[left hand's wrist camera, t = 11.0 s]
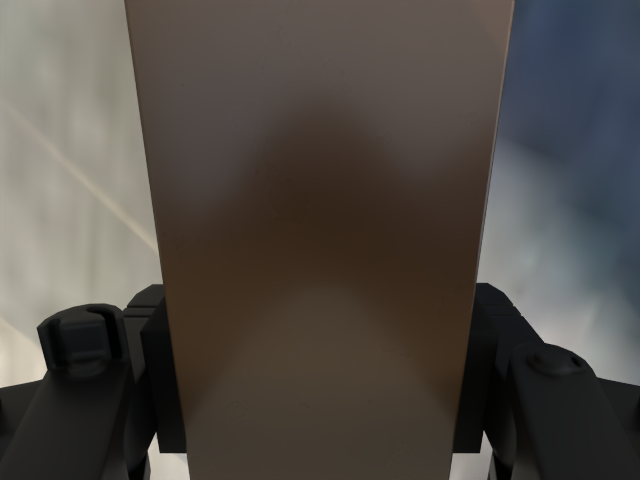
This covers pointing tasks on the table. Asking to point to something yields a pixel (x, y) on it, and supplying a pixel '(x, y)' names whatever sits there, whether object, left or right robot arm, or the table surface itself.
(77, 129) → the table surface
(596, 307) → the table surface
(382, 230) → the beam
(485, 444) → the table surface
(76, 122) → the table surface
